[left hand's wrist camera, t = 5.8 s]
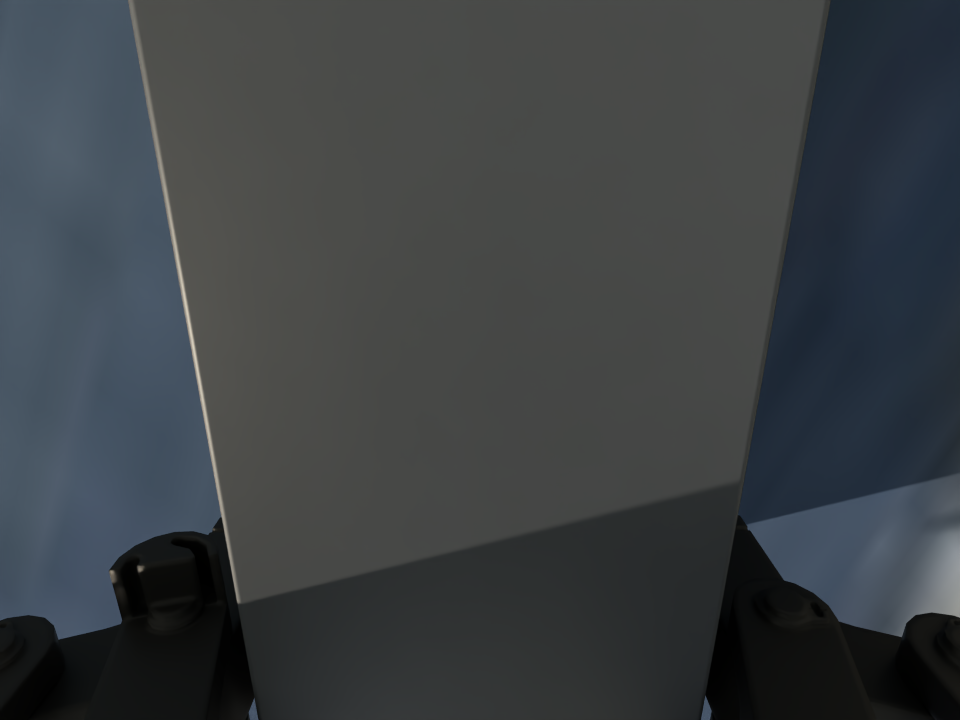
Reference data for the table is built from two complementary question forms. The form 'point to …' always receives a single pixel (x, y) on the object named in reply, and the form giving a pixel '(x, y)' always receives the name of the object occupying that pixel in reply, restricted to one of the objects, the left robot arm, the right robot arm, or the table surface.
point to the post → (479, 332)
